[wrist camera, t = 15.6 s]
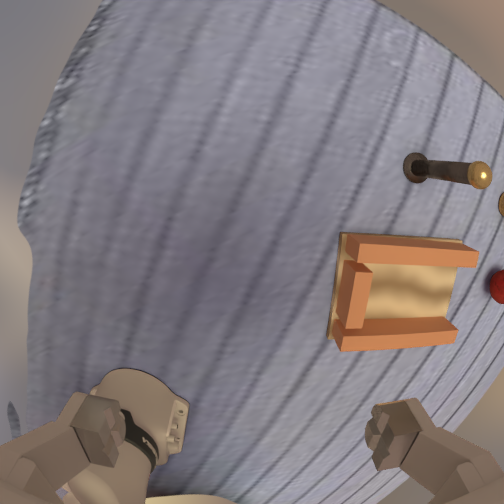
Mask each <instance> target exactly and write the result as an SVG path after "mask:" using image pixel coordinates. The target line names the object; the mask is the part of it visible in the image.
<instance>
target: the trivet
mask: <svg viewBox="0 0 504 504" xmlns="http://www.w3.org/2000/svg"><path fill="white" fill-rule="evenodd" d="M347 234H355V235H369V236H382V237H395V238H408V239H420V240H432V241H443V242H455V243H462V241H461V240H459V239H449V238H434V237H419V236H403V235H387V234H369V233H350V232H340V237H339V247H338V256H337V264H336V272H335V280H334V288H333V295H332V302H331V309H330V315H329V322H328V328H327V334H326V336H327V338H328V339H334V337H333V335H332V329H333V323H334V319H339V317H338V315H337V313H336V307H337V301H338V295H339V289H340V283H341V276H342V270H343V263H344V260H354V259H353V258H352V257H351V256H349V255H348V254H347V253H346V252H345V248H346V241H347ZM363 264H364V265H365V266H366V267H368V268H369V269H370V270H371V271H372V272H373V277H372V283H371V288H370V293H369V298H368V303H367V308H366V313H365V317H364V319H388V318H417V317H438V316H443V317H445V316H446V313H447V309H448V305H449V302H450V298H451V294H452V290H453V285H454V281H455V277H456V272H457V267H446V266H421V265H397V264H374V263H363Z"/></svg>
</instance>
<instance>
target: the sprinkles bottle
mask: <svg viewBox="0 0 504 504" xmlns="http://www.w3.org/2000/svg"><path fill="white" fill-rule="evenodd" d="M499 210H500V213H501V214H502V215H503V216H504V193H503V194H502V195H501V197H500V200H499Z"/></svg>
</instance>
